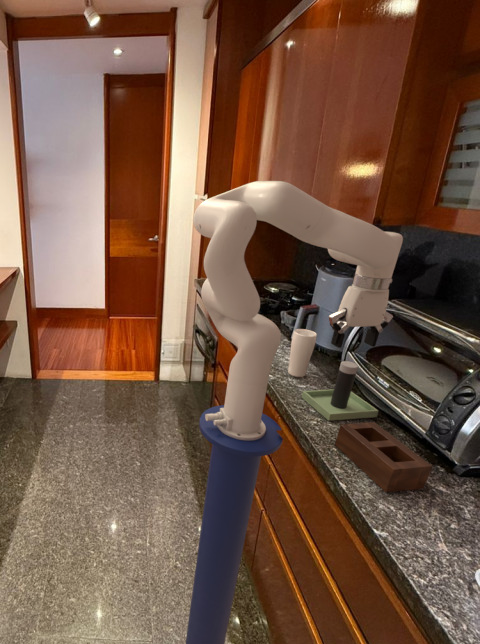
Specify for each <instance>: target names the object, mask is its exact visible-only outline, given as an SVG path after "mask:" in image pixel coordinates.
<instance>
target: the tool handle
mask: <svg viewBox="0 0 480 644" xmlns="http://www.w3.org/2000/svg"><path fill="white" fill-rule="evenodd" d="M358 369H359V365H358V364H357V363H355V362H352V361H348V360H343V361H341V362H340V366H339V369H338V373H337V376H336V380H335V384H334V387H333V389H334V391H333V395H332V399H331V403H330V404H331V405H332V406H334V407H336V408H339V409H345V408H346V407H347V404H348V400H349V397H350V393H351V392H352V389H353V386H354V382H355V379H356V375H357V372H358Z"/></svg>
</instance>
